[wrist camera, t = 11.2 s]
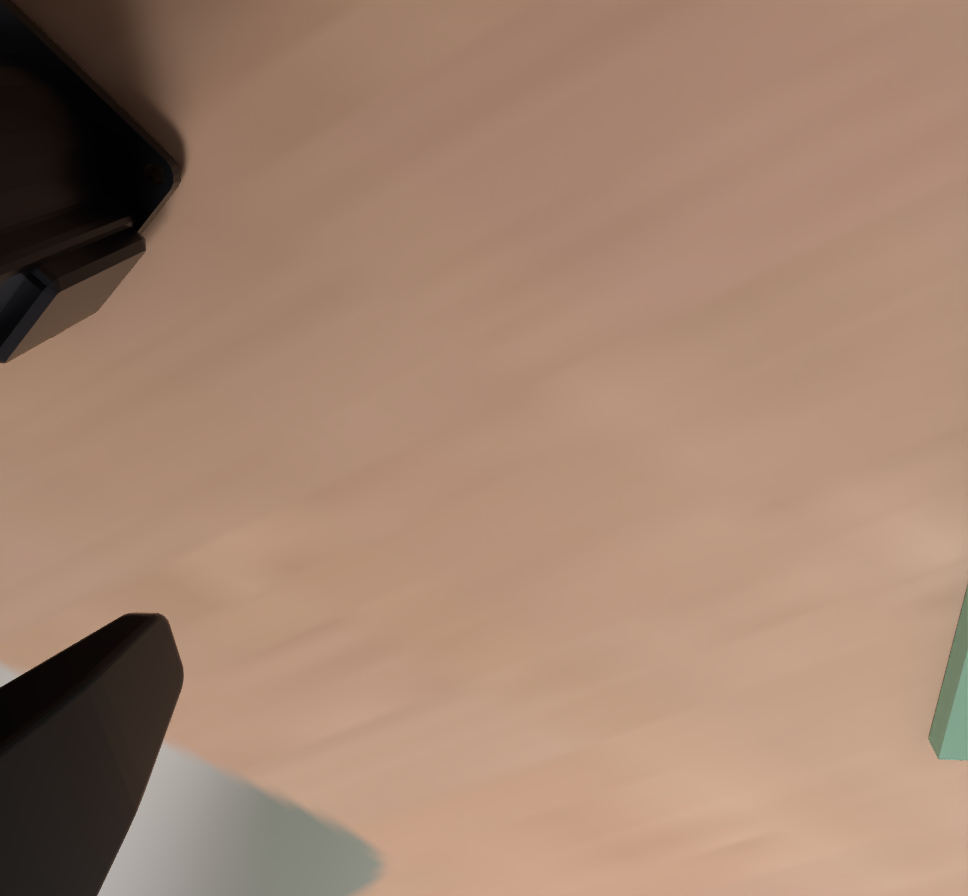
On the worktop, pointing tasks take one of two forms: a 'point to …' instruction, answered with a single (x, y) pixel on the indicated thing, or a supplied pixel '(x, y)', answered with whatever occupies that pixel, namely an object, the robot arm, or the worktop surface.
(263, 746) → the worktop surface
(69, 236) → the robot arm
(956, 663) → the board
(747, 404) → the worktop surface
